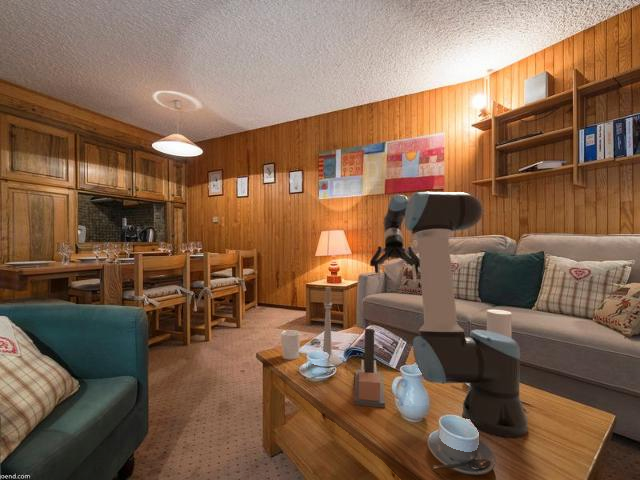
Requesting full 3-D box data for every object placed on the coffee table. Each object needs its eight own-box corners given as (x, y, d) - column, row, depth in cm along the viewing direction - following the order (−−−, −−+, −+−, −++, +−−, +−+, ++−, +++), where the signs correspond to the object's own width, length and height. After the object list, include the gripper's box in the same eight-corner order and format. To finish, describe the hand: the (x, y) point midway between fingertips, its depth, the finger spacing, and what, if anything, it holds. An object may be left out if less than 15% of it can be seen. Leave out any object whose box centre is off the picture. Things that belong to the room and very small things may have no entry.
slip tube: (364, 376, 103) (364, 326, 103) (373, 376, 102) (373, 326, 102) (364, 393, 91) (364, 337, 91) (374, 394, 90) (375, 337, 90)
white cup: (281, 353, 128) (281, 329, 128) (299, 353, 129) (299, 329, 129) (280, 360, 121) (280, 335, 121) (300, 360, 121) (300, 335, 121)
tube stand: (355, 373, 110) (356, 355, 110) (381, 375, 109) (381, 357, 109) (353, 404, 89) (354, 382, 89) (385, 407, 87) (385, 384, 87)
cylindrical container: (504, 381, 104) (504, 309, 105) (515, 392, 97) (516, 314, 98) (482, 380, 105) (483, 309, 105) (492, 390, 98) (493, 313, 98)
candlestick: (324, 370, 112) (325, 289, 112) (305, 359, 123) (306, 285, 123) (349, 362, 120) (350, 286, 120) (329, 352, 130) (330, 283, 130)
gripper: (422, 247, 132) (429, 286, 117) (364, 246, 136) (364, 284, 121) (424, 234, 127) (432, 273, 112) (364, 234, 131) (364, 272, 116)
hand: (396, 279), depth 117 cm, fingers open, 13 cm apart
